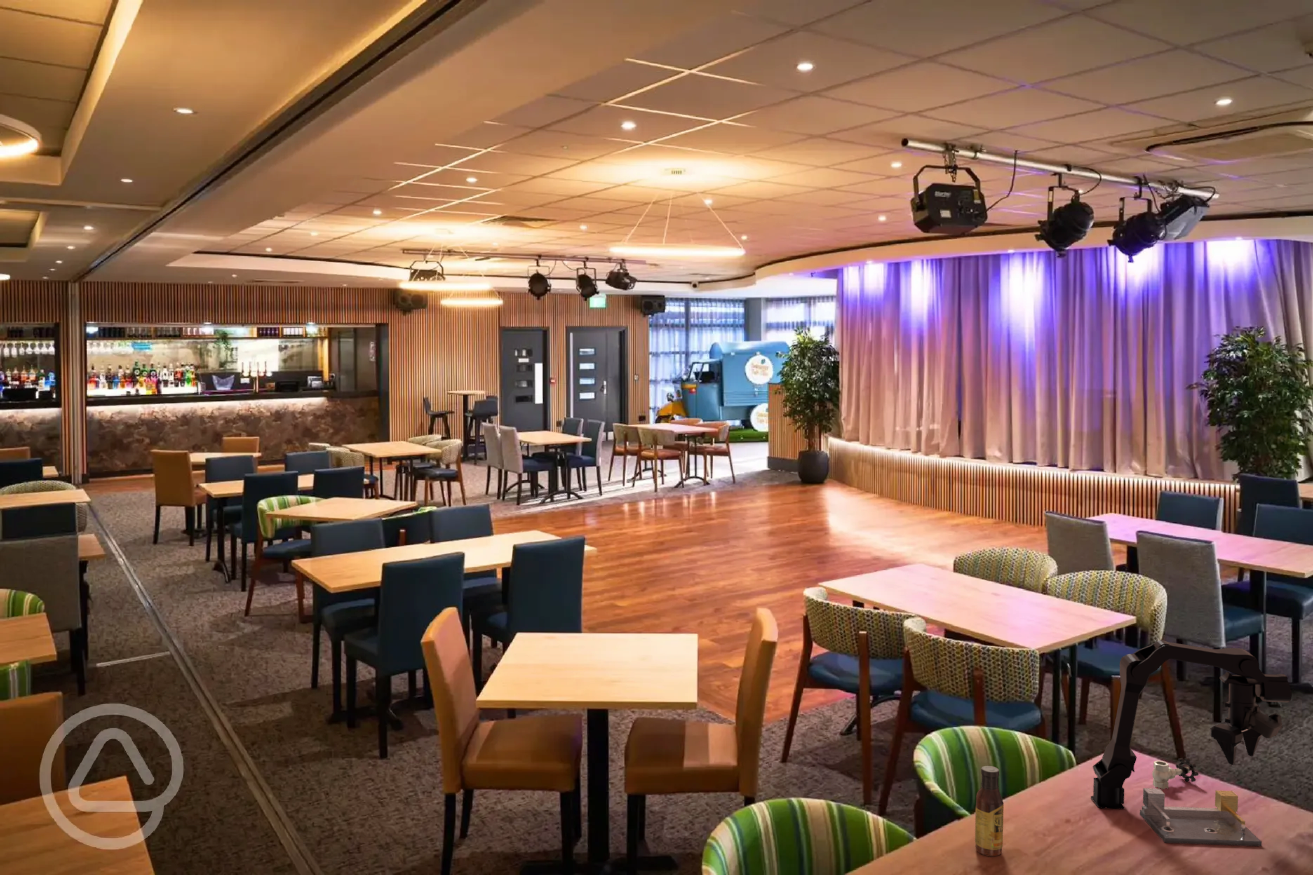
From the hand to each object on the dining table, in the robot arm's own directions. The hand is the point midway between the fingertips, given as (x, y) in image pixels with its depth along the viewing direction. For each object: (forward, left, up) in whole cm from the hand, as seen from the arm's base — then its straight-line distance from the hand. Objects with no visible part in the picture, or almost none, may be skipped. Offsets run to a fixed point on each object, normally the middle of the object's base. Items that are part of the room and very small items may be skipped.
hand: (1241, 759), depth 244 cm
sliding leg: (-5, -7, -13) cm, 16 cm away
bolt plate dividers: (-14, -9, -14) cm, 22 cm away
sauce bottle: (-68, -24, -15) cm, 74 cm away
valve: (-9, +18, -15) cm, 25 cm away
